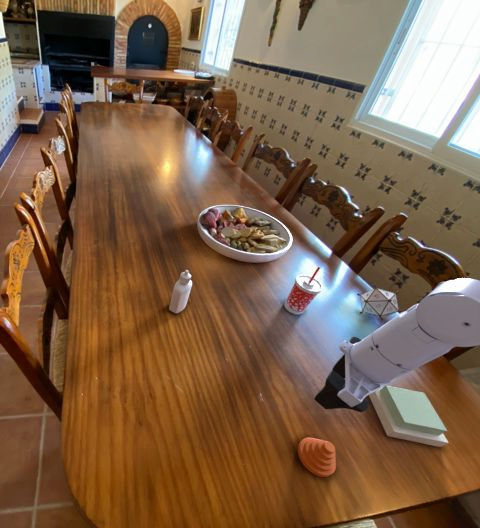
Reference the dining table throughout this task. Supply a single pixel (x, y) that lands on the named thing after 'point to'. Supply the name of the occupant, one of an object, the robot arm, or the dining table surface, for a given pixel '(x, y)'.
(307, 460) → the cone
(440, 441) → the base block
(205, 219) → the bowl
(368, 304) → the game die
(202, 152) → the dining table surface
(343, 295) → the dining table surface
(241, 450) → the dining table surface
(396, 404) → the top block
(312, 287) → the beverage cup
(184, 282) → the eye dropper bottle
